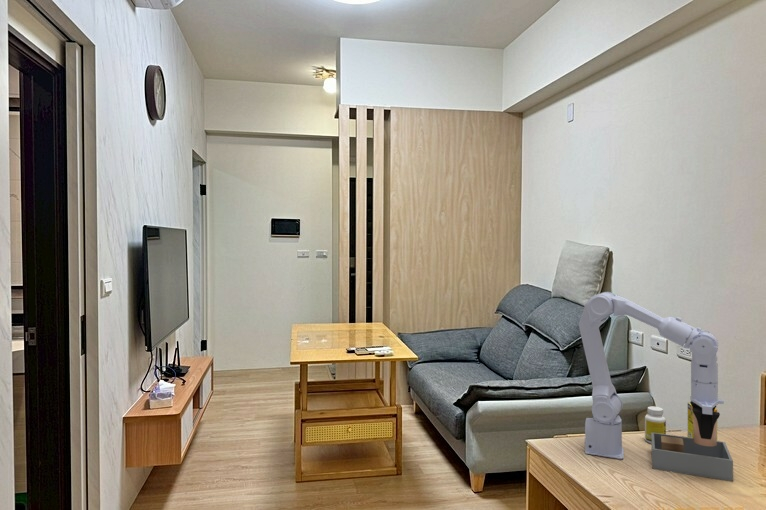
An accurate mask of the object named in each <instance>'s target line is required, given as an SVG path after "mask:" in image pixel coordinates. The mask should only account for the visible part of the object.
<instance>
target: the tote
mask: <svg viewBox="0 0 766 510" xmlns="http://www.w3.org/2000/svg"><path fill="white" fill-rule="evenodd" d="M661 436H667V437H675V438H682V439H683V444H684V453H681V452H674V451H667V450H661ZM651 439H652V444H651V463H652V465H651V466H652V467H651V468H652V469H653V470H659V471H664V470H665V472H670V471H672V472H673V473H677V472H678V473H677V474H684V475H691V476H695V477H704V478H708V477H710V478H709V479H715V480H722V481H728V482H734V460H733V458H732V455H731V453H730V450H729V449H728V445H727V444H726V442H725V441H719V440H717V445H716V446H703V445H699V444H696V443H695V442H694V441H693V438H691V437H688V436H684V435H683V436H681V435H675V434H674V435H673V434H667V433H666V434H660V433H652V432H651ZM672 472H671V473H672Z"/></svg>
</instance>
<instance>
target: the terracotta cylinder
mask: <svg viewBox="0 0 766 510" xmlns="http://www.w3.org/2000/svg"><path fill="white" fill-rule="evenodd" d="M693 441H694V442H695V443H696V444H699V445H703V446H716V445H717V441H718V420H717V421H716V423H715V425H714V429H713V434H712V438H711V440H710V439H702V438H701V436H700V433H699V427H698V422H697V419H696V417H695V415H694V413H693Z"/></svg>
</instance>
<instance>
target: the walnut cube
mask: <svg viewBox="0 0 766 510" xmlns="http://www.w3.org/2000/svg"><path fill="white" fill-rule="evenodd" d="M661 450H667V451H674V452H681V453H684V444H683V439H682V438H675V437H667V436H661Z"/></svg>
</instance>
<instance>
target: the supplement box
mask: <svg viewBox="0 0 766 510" xmlns="http://www.w3.org/2000/svg"><path fill="white" fill-rule="evenodd" d="M692 408H693V407H692V405H691V403H690V402H687V437H691V438H693V410H692ZM714 412H718V409H717V407H716V408H715V410H714Z"/></svg>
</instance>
